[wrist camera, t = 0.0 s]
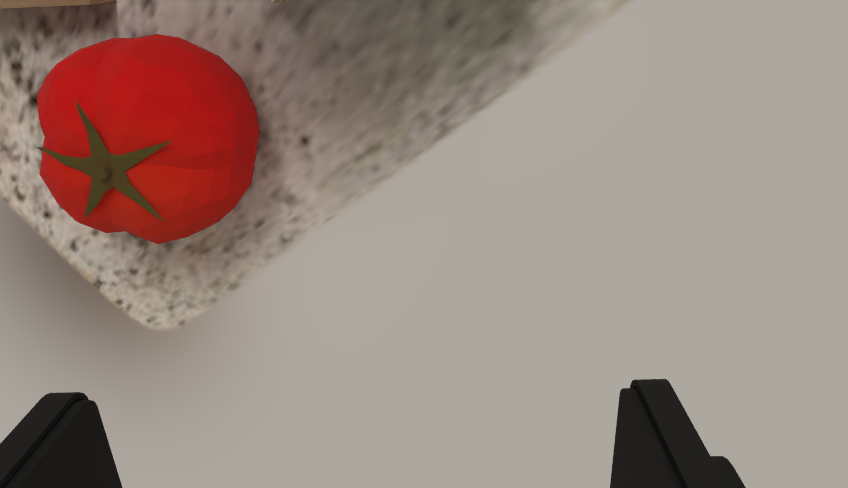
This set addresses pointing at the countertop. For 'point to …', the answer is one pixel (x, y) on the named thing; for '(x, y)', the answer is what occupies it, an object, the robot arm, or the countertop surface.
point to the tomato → (147, 137)
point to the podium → (48, 3)
